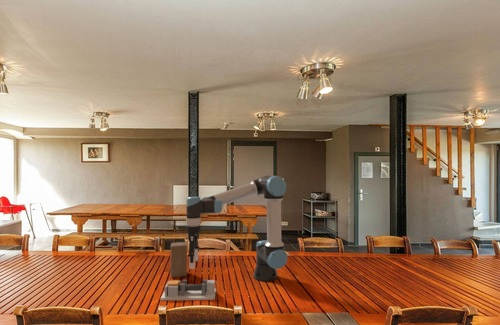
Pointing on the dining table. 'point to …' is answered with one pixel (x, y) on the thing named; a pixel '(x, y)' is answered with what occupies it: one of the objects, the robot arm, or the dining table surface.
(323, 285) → the dining table surface
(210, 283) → the rod with end blocks
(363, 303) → the dining table surface
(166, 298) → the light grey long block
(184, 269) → the wooden block
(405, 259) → the dining table surface
